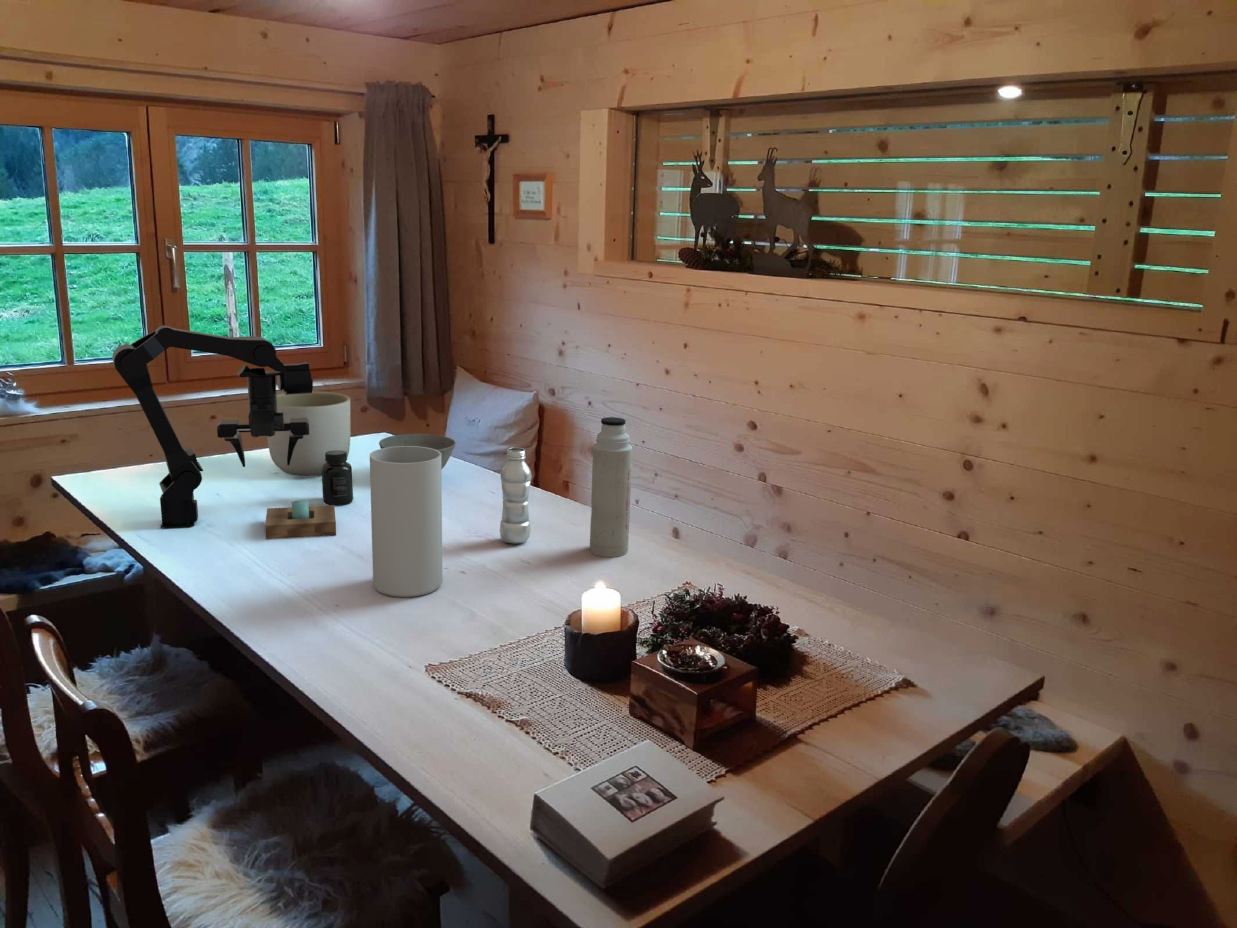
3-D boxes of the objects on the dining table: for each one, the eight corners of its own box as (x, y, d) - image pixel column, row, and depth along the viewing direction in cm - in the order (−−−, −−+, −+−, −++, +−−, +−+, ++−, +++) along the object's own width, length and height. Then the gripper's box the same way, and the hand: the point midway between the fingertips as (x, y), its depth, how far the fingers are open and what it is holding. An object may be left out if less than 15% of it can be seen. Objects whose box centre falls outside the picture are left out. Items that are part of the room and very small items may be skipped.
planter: (255, 479, 242) (250, 404, 237) (286, 459, 262) (282, 389, 257) (337, 483, 242) (335, 408, 237) (362, 462, 262) (360, 393, 257)
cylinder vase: (374, 600, 172) (370, 464, 166) (372, 575, 184) (368, 447, 177) (445, 596, 175) (444, 462, 169) (439, 571, 187) (438, 445, 181)
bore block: (265, 539, 200) (264, 525, 200) (267, 521, 211) (267, 508, 211) (336, 535, 204) (335, 521, 204) (334, 517, 216) (334, 505, 215)
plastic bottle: (493, 543, 203) (493, 450, 198) (511, 534, 209) (512, 444, 204) (518, 549, 201) (520, 455, 196) (536, 540, 206) (538, 448, 201)
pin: (292, 527, 206) (291, 505, 204) (292, 522, 209) (291, 500, 207) (309, 526, 207) (308, 504, 205) (309, 521, 210) (308, 499, 208)
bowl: (365, 484, 241) (364, 445, 239) (403, 467, 259) (402, 430, 256) (433, 493, 236) (433, 454, 234) (467, 475, 254) (467, 437, 251)
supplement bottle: (357, 498, 230) (356, 449, 227) (346, 507, 223) (345, 456, 220) (329, 497, 231) (327, 447, 227) (318, 505, 224) (315, 455, 221)
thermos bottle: (631, 546, 205) (637, 416, 198) (623, 558, 197) (629, 424, 190) (594, 542, 206) (598, 413, 199) (585, 554, 199) (589, 421, 192)
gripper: (212, 404, 200) (217, 477, 204) (307, 402, 206) (310, 473, 209) (217, 394, 210) (222, 463, 214) (307, 392, 216) (310, 460, 220)
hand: (266, 465), depth 214 cm, fingers open, 9 cm apart
